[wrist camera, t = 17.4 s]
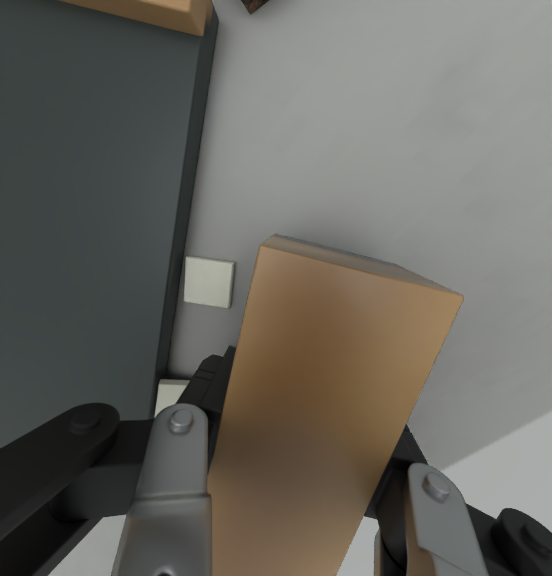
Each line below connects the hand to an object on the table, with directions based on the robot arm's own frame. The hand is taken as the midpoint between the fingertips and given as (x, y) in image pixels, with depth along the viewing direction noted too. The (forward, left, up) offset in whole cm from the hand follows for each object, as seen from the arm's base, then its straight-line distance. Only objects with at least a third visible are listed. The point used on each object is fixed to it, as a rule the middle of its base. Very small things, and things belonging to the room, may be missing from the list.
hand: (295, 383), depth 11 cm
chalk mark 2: (+3, +5, -2) cm, 6 cm away
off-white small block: (-3, +5, -1) cm, 6 cm away
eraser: (0, 0, 0) cm, 0 cm away
